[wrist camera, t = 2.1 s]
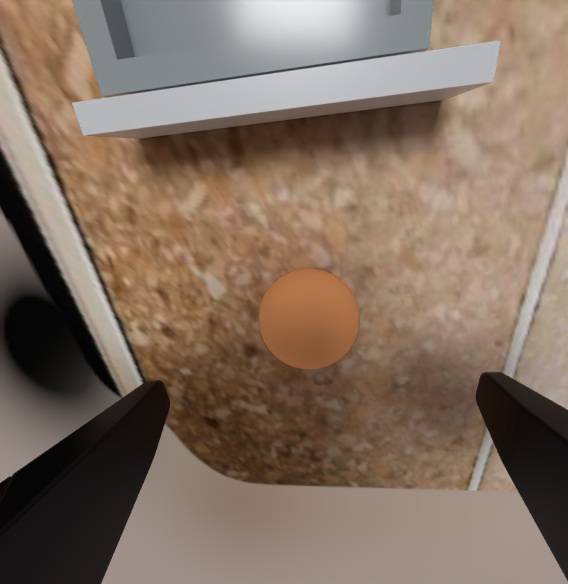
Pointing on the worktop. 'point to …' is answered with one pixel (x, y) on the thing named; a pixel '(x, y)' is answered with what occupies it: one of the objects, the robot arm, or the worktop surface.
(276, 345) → the ball
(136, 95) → the wall
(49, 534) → the robot arm
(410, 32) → the tray
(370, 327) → the worktop surface
